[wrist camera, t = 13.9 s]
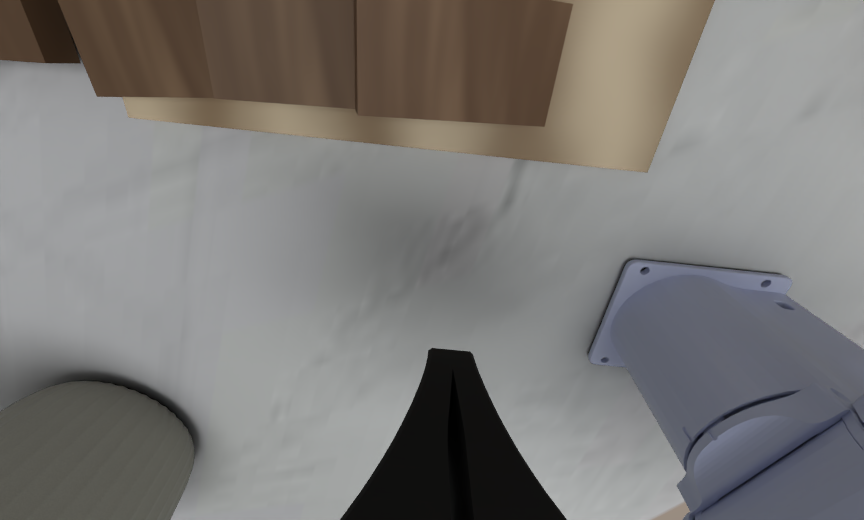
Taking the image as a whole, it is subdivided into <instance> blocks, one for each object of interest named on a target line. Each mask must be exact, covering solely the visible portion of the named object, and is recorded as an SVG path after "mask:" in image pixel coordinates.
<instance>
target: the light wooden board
mask: <svg viewBox="0 0 864 520" xmlns="http://www.w3.org/2000/svg"><path fill="white" fill-rule="evenodd" d="M552 1H559V2H565V3H571V4H573V7H572V12H571V16H570V20H569V24H568V29H567V33H566V37H565V42H564V46H563V50H562V54H561V59H560V63H559V67H558V72H557V76H556V80H555V84H554V89H553V93H552V97H551V102H550V106H549V110H548V114H547V119H546V123H545V127H539V126H522V125H506V124H489V123H473V122H456V121H440V120H423V119H407V118H390V117H373V116H358V115H357V113H356V110H355V109H346V108H333V107H319V106H306V105H292V104H279V103H265V102H252V101H238V100H225V99H214V98H170V97H123V100H124V104H125V107H126V110H127V114H128V117H129V118H137V119H147V120H156V121H166V122H175V123H184V124H194V125H203V126H213V127H222V128H232V129H241V130H251V131H260V132H269V133H279V134H288V135H298V136H307V137H317V138H326V139H335V140H345V141H354V142H364V143H373V144H383V145H392V146H401V147H411V148H420V149H430V150H439V151H449V152H458V153H468V154H477V155H486V156H496V157H505V158H515V159H524V160H534V161H543V162H552V163H562V164H571V165H581V166H590V167H600V168H609V169H618V170H628V171H637V172H648V170H649V167H650V165H651V162H652V160H653V157H654V154H655V152H656V149H657V147H658V144H659V142H660V139H661V137H662V134H663V131H664V129H665V126H666V124H667V121H668V119H669V116H670V114H671V111H672V109H673V106H674V103H675V101H676V98H677V96H678V93H679V91H680V88H681V86H682V83H683V80H684V78H685V75H686V73H687V70H688V68H689V65H690V63H691V60H692V57H693V55H694V52H695V50H696V47H697V45H698V42H699V40H700V37H701V34H702V32H703V29H704V27H705V24H706V22H707V19H708V17H709V14H710V12H711V9H712V6H713V4H714V1H715V0H552Z"/></svg>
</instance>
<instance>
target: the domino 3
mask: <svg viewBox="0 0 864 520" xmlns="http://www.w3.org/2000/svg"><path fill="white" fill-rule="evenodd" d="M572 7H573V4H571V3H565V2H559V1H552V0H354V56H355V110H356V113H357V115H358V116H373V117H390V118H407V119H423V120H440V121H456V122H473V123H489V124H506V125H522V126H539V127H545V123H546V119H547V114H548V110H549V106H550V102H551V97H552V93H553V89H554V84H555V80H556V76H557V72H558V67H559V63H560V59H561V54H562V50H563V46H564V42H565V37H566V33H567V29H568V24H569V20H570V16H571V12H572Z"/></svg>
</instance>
